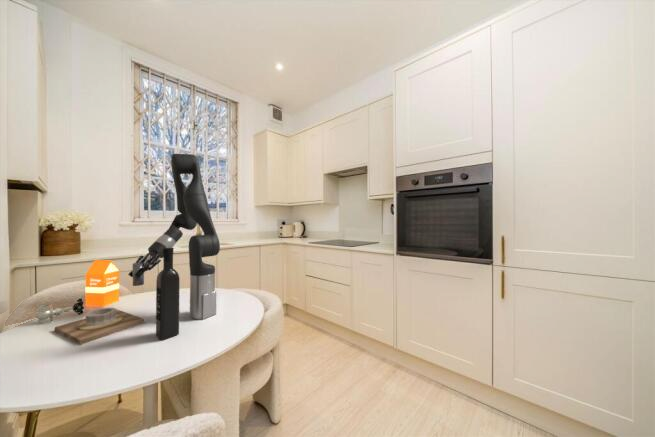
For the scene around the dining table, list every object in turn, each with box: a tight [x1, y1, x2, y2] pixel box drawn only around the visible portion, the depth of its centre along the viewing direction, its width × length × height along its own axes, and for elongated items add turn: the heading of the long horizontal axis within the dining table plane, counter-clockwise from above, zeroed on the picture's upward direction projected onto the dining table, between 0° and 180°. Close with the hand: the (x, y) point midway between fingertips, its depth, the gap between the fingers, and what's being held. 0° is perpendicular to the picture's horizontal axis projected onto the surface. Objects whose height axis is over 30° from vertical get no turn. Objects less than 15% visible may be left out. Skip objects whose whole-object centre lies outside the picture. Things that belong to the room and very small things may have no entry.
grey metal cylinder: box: [132, 262, 145, 287], centre depth 106 cm, size 4×4×10 cm
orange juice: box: [84, 259, 120, 307], centre depth 112 cm, size 8×9×20 cm
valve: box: [36, 297, 85, 326], centre depth 94 cm, size 7×7×12 cm
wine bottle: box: [155, 247, 181, 341], centre depth 82 cm, size 6×6×30 cm
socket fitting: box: [54, 307, 145, 346], centre depth 88 cm, size 20×18×6 cm
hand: (133, 276), depth 105 cm, fingers closed on grey metal cylinder, 4 cm apart
